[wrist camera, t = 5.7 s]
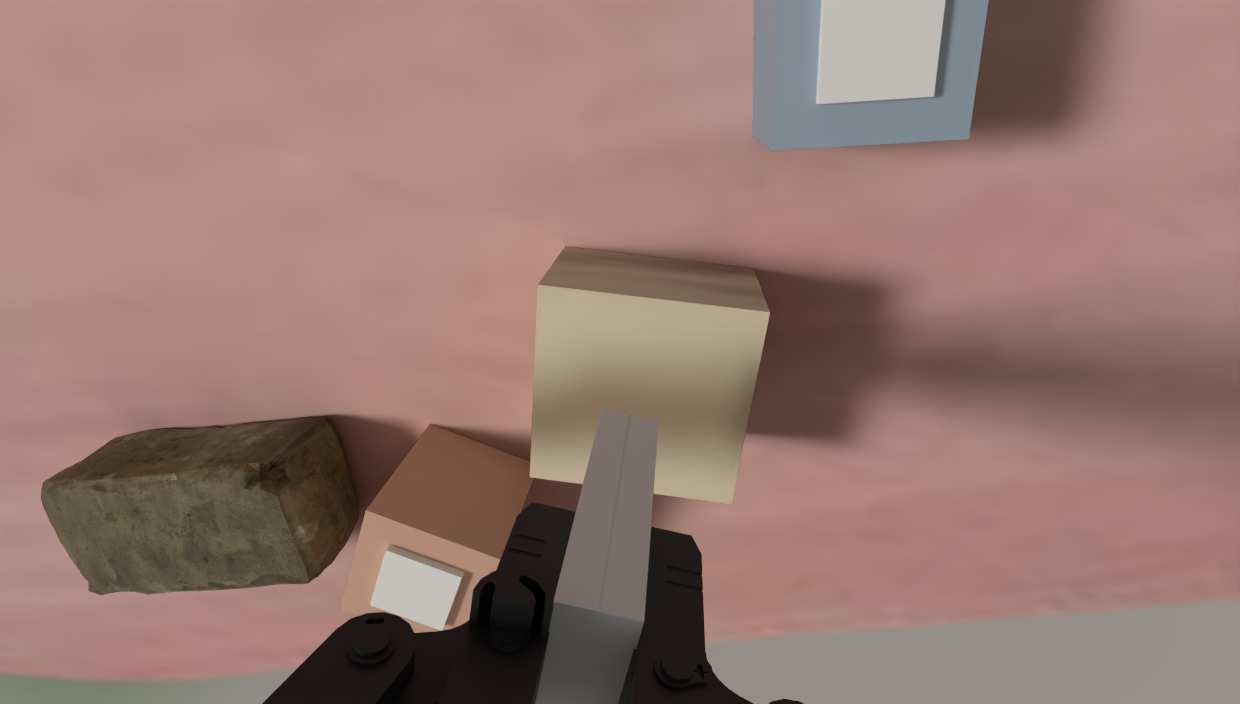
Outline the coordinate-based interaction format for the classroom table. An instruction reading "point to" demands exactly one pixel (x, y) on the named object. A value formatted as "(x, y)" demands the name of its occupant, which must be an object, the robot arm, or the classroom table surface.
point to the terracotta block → (436, 531)
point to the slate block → (864, 71)
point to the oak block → (647, 364)
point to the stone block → (206, 507)
